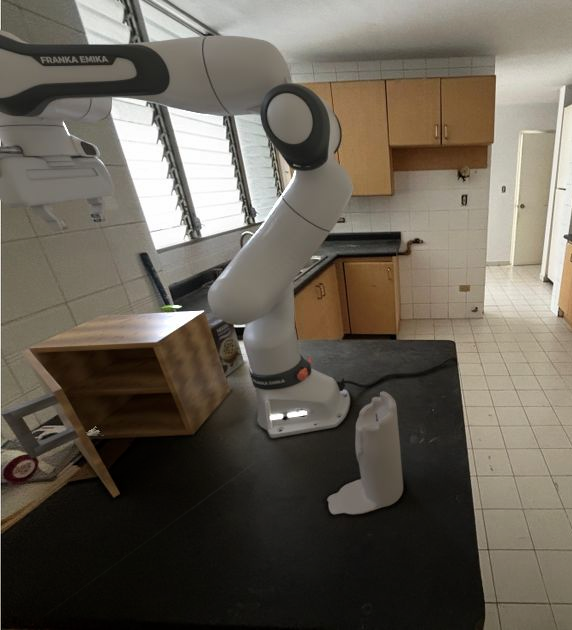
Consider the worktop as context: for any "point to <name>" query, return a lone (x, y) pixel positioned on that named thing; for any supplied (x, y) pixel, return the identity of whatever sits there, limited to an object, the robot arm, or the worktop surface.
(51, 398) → the cupboard door
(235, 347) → the coffee box
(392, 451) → the white l-shaped piece
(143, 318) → the cupboard
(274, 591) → the worktop surface
